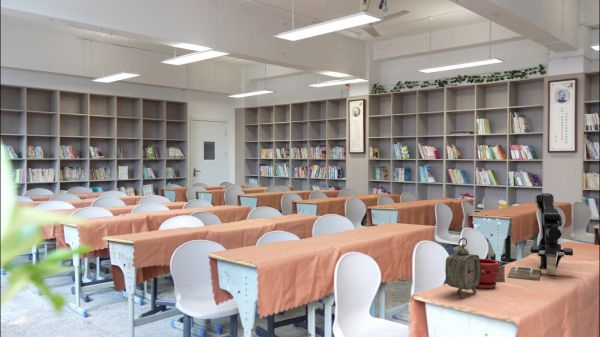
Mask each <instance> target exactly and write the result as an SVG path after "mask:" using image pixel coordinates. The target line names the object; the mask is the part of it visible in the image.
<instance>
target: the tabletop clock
mask: <svg viewBox="0 0 600 337" xmlns="http://www.w3.org/2000/svg"><path fill="white" fill-rule="evenodd" d="M463 240H465V244H464V243H462V244H461V245H460V243H461V241H463ZM457 244H458V247H459V248H458V249H457V251H456V253H454V254H451V255H449V256H447V257H446V258H445V266H444V267H445V270H444V271H445V283H446V285H447V286H448V287H452V288H456V289H457V290H456V294H459V298H460V299H463V298H464V294H463V290H466V291H469V290H472V293H473V294H476V293H477V289H475V288H477V287H476V286H478V285H479V282H480V259H481V258H480V256H479V255H477V254H472V253H470V252H469V250H468V249H467V248H465V247H466V246H467V245H468V240H467V238H465V237H461V238H460V239H459V240H458V242H457Z"/></svg>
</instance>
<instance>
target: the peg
mask: <svg viewBox="0 0 600 337" xmlns="http://www.w3.org/2000/svg"><path fill="white" fill-rule="evenodd" d="M556 262H557V257H556V255H547V269H546V275H553V276H556V275H557V268H556Z"/></svg>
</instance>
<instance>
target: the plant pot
mask: <svg viewBox="0 0 600 337" xmlns="http://www.w3.org/2000/svg"><path fill="white" fill-rule="evenodd" d="M499 265H500V264H499V263H498V262H497V261H495V260H494V259H489V258H488V259H487V258H480V282H479V285H478V286H476V287H475V288H479V289H493V288H495V287H496V286H497V282H495V280H496V278H497V275H498V267H499ZM488 270H489V271H488ZM493 271H494V272H493Z"/></svg>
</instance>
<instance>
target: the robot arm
mask: <svg viewBox="0 0 600 337" xmlns="http://www.w3.org/2000/svg"><path fill="white" fill-rule="evenodd" d="M554 202H555V200H554V195H553V193H546V192H545V193H544V192H543V193H540V194H538V195H536V196H535V204H536V208H537V209H538V210H539V212H540V226H541V229H540V230H541V239H540V240H539V242H538V245H531V246H530V253H531V254H536V255H537V256H538V257H540V264H539V269H546V270H547V255H556V269H557V268H558V266H559V264H560V261H561V258H564V257H565V256H568V257H569V256H572V257H573V256H574V250H573V248H572V247H564V248H563V249H562V244H561V243H559V239H561V237H562V232H561V230H560V229H559V227H562V225H563V219H562V216H561V214H560V213H559V211H558V209H557V208H555V206H554Z"/></svg>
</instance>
